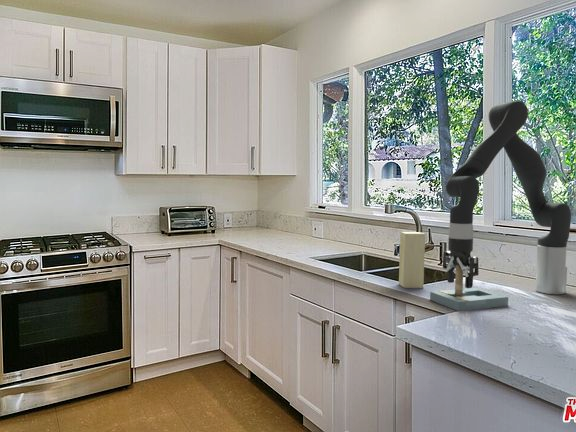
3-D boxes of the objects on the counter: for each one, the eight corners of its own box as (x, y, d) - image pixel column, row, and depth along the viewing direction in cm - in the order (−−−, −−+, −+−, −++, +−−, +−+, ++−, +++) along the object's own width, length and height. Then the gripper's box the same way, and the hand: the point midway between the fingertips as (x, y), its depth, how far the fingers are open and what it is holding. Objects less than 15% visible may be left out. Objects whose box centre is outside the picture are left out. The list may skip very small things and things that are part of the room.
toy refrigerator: (417, 283, 175) (419, 231, 174) (424, 288, 168) (425, 233, 166) (398, 283, 175) (399, 231, 174) (403, 288, 168) (404, 233, 166)
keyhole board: (476, 295, 157) (477, 286, 157) (507, 305, 144) (508, 296, 144) (430, 299, 151) (430, 291, 151) (458, 311, 138) (458, 301, 137)
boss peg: (459, 301, 149) (460, 263, 148) (468, 305, 145) (470, 266, 144) (448, 302, 148) (449, 264, 147) (457, 306, 143) (458, 266, 142)
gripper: (486, 238, 139) (484, 289, 140) (455, 233, 152) (454, 279, 154) (466, 239, 137) (465, 291, 138) (437, 234, 150) (436, 281, 151)
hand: (459, 285), depth 146 cm, fingers open, 8 cm apart
